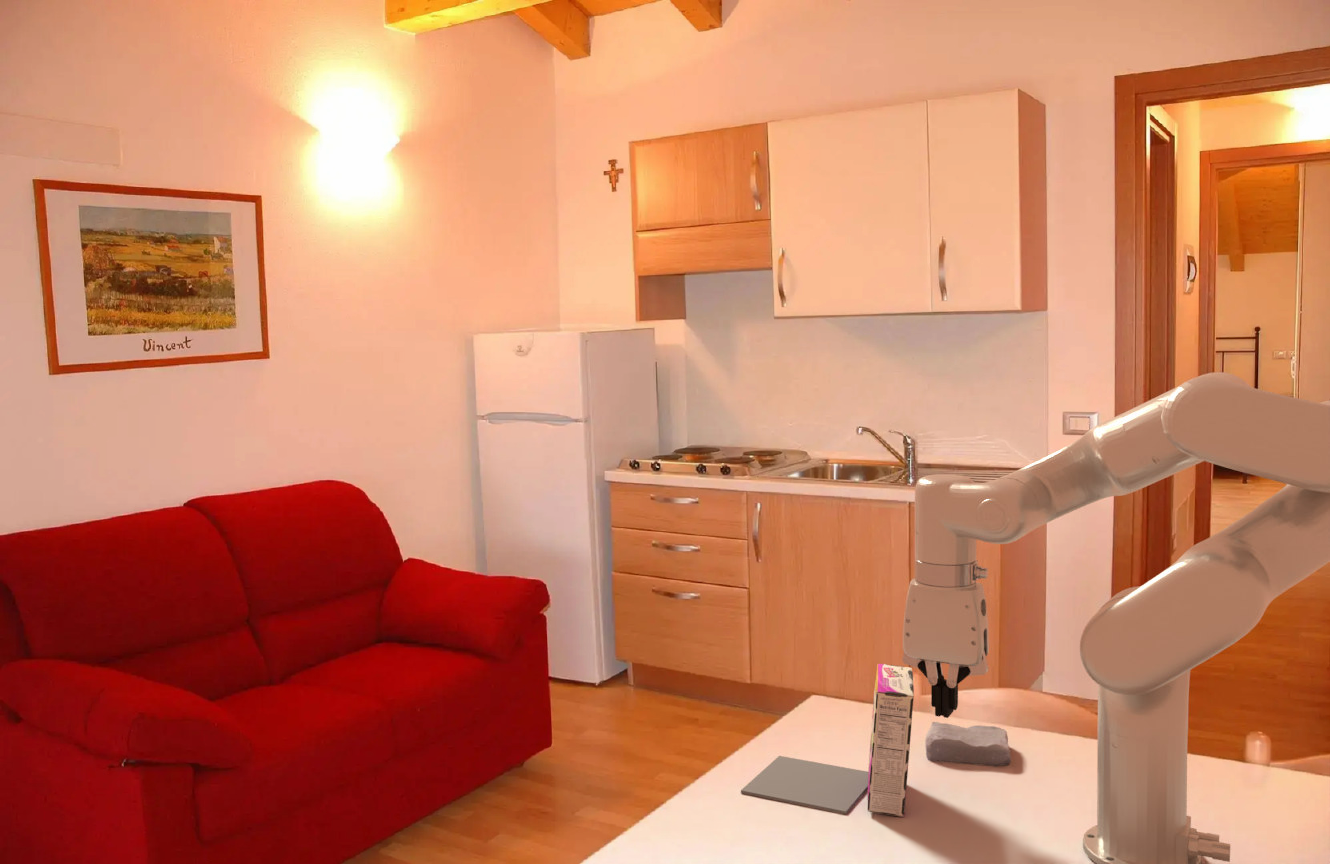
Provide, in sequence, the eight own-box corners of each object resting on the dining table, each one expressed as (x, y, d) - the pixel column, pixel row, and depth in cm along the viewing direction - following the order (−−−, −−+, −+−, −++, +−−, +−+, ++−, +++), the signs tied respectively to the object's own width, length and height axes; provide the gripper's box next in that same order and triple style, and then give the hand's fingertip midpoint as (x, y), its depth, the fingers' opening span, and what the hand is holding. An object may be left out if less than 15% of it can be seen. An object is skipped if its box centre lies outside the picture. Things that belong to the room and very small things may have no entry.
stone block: (926, 749, 164) (923, 762, 154) (927, 717, 164) (925, 728, 154) (1008, 759, 160) (1010, 772, 151) (1009, 726, 161) (1011, 737, 151)
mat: (878, 776, 150) (878, 773, 150) (846, 814, 139) (846, 811, 139) (779, 758, 157) (779, 755, 157) (740, 793, 146) (740, 790, 146)
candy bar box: (866, 776, 149) (876, 662, 147) (903, 782, 148) (913, 666, 146) (864, 813, 138) (875, 689, 136) (904, 819, 137) (916, 695, 135)
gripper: (1012, 572, 135) (1010, 713, 137) (896, 561, 143) (896, 695, 145) (999, 585, 129) (997, 733, 131) (878, 573, 136) (878, 714, 138)
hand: (944, 713), depth 138 cm, fingers closed
